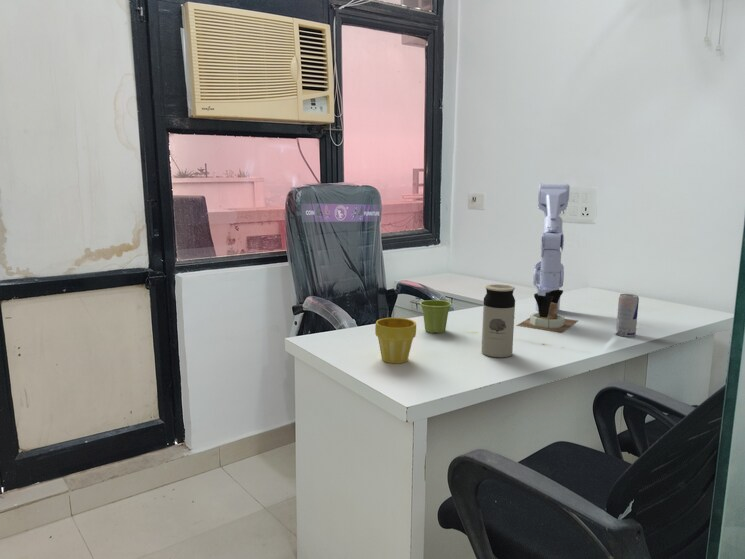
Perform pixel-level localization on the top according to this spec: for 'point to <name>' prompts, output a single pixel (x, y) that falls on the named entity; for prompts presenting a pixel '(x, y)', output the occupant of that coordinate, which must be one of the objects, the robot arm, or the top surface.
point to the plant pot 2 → (435, 315)
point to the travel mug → (498, 320)
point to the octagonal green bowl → (547, 321)
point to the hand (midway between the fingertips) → (547, 314)
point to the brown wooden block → (551, 312)
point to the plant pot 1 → (395, 338)
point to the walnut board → (567, 324)
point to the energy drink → (627, 315)
